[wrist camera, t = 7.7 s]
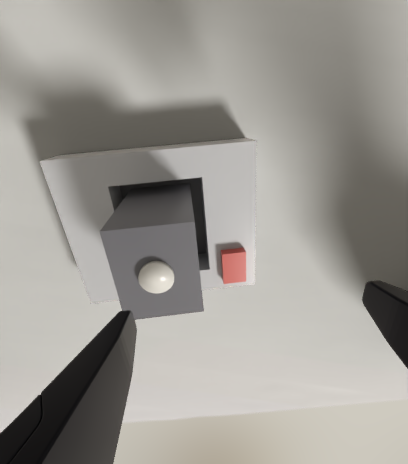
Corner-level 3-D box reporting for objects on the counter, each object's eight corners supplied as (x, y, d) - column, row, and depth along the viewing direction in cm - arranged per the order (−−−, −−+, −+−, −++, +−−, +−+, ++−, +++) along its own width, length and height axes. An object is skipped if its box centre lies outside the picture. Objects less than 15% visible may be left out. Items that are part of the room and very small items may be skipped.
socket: (245, 137, 16) (259, 141, 13) (246, 265, 20) (257, 289, 17) (60, 154, 15) (33, 162, 12) (101, 282, 20) (88, 309, 17)
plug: (189, 183, 17) (195, 224, 10) (196, 246, 19) (204, 315, 12) (131, 188, 16) (97, 234, 10) (144, 252, 18) (124, 325, 12)
